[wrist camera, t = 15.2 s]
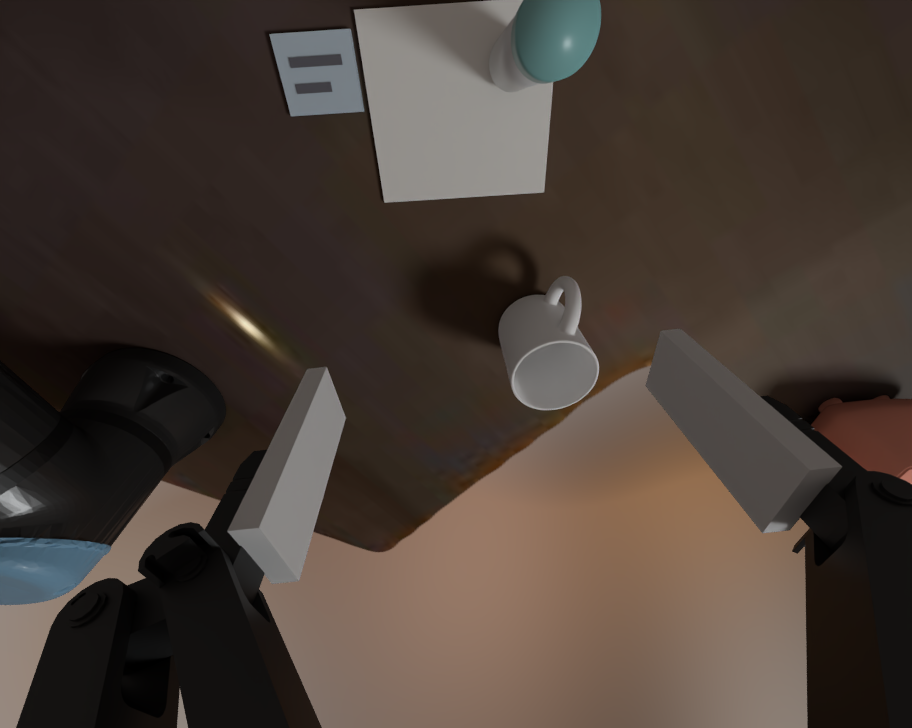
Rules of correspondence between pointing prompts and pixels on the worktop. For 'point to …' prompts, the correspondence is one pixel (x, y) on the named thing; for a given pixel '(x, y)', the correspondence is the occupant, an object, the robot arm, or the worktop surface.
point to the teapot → (871, 432)
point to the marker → (544, 43)
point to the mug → (548, 348)
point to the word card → (318, 71)
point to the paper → (449, 104)
